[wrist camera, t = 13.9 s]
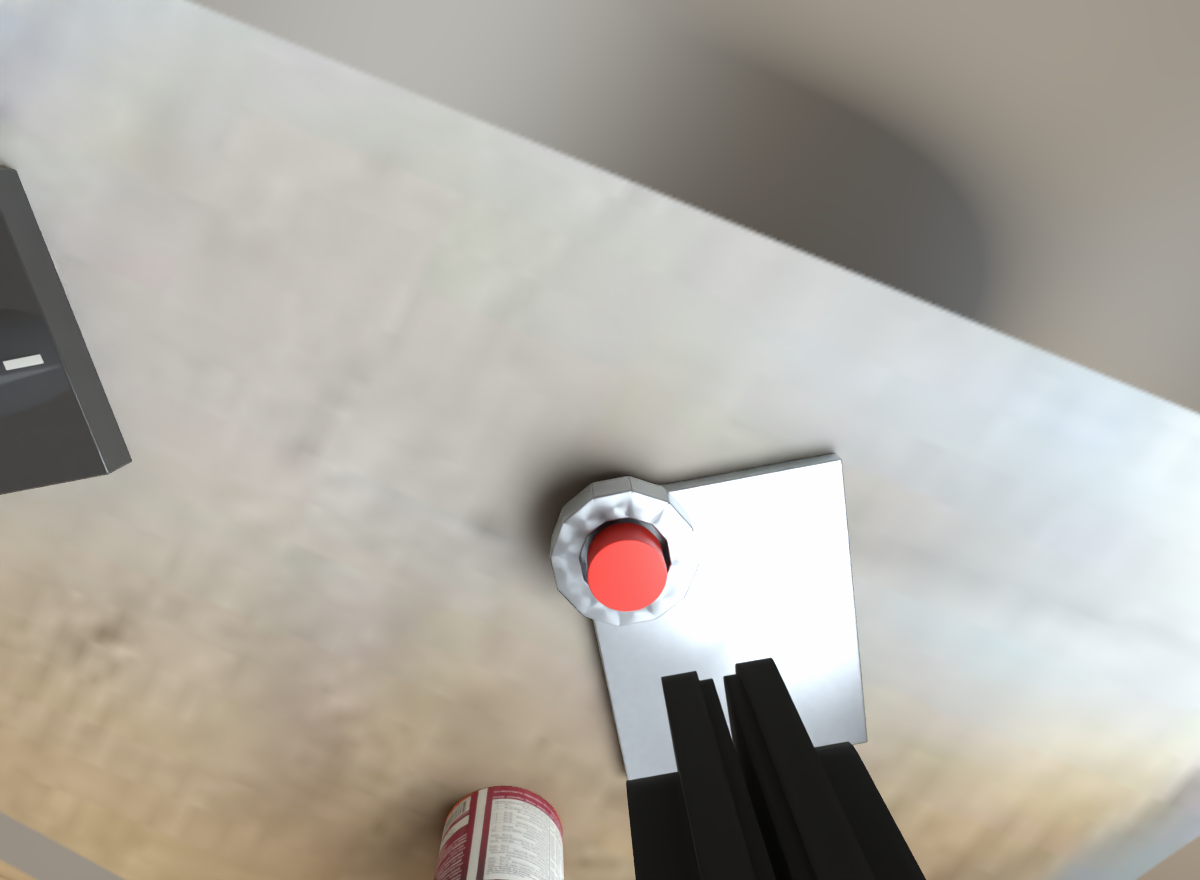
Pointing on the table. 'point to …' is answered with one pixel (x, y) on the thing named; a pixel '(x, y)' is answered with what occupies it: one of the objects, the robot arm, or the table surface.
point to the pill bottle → (501, 838)
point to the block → (725, 596)
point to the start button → (626, 567)
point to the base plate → (45, 366)
